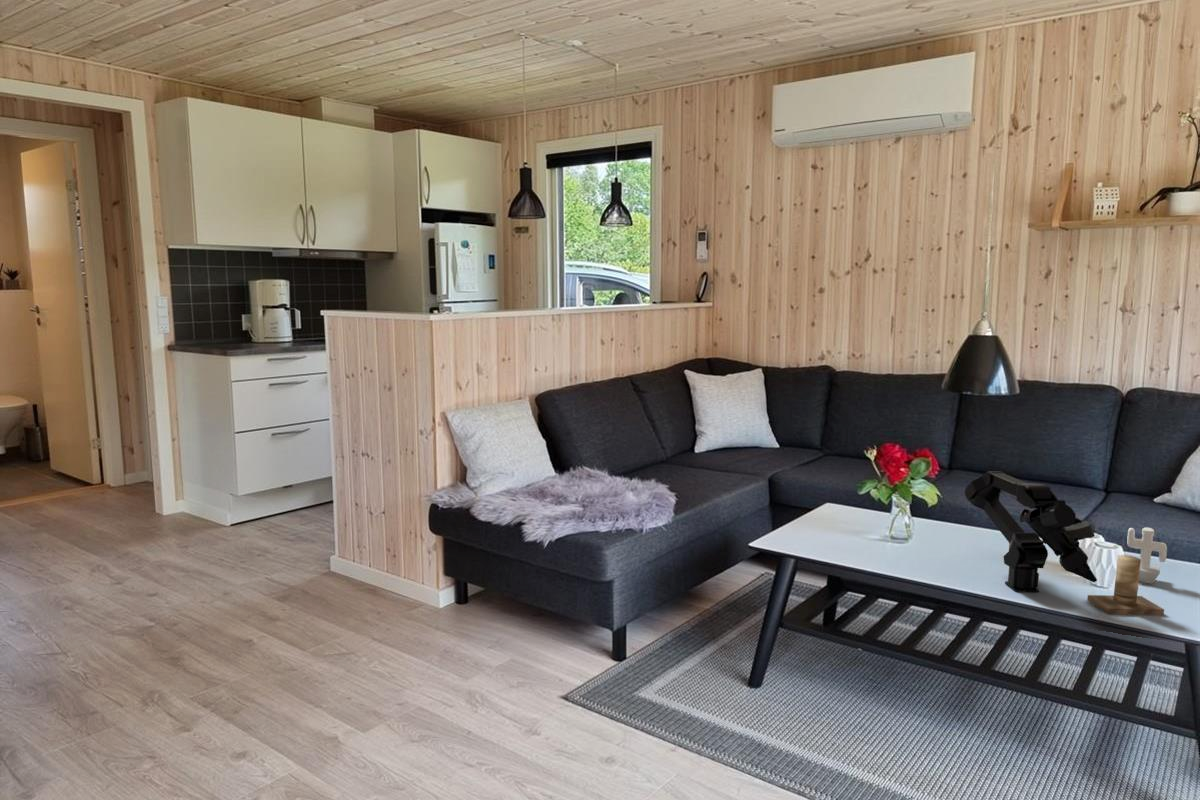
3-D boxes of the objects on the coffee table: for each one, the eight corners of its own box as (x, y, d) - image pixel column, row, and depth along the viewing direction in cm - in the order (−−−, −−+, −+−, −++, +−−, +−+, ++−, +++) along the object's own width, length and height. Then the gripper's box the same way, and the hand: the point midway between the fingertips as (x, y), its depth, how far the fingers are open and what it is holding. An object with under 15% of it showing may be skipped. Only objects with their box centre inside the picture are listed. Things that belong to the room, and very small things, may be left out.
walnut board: (1107, 614, 206) (1108, 608, 206) (1087, 600, 215) (1087, 595, 215) (1163, 615, 206) (1164, 609, 206) (1140, 601, 215) (1141, 596, 215)
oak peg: (1120, 610, 208) (1125, 561, 207) (1108, 602, 213) (1113, 554, 212) (1140, 610, 208) (1145, 561, 206) (1128, 603, 213) (1133, 555, 211)
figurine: (1163, 587, 226) (1168, 534, 224) (1122, 580, 231) (1127, 528, 229) (1163, 579, 231) (1169, 528, 229) (1124, 572, 237) (1129, 522, 235)
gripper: (1081, 520, 204) (1128, 568, 202) (1069, 502, 221) (1111, 546, 219) (1043, 546, 208) (1088, 594, 206) (1033, 526, 225) (1075, 570, 223)
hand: (1092, 575), depth 213 cm, fingers open, 9 cm apart
